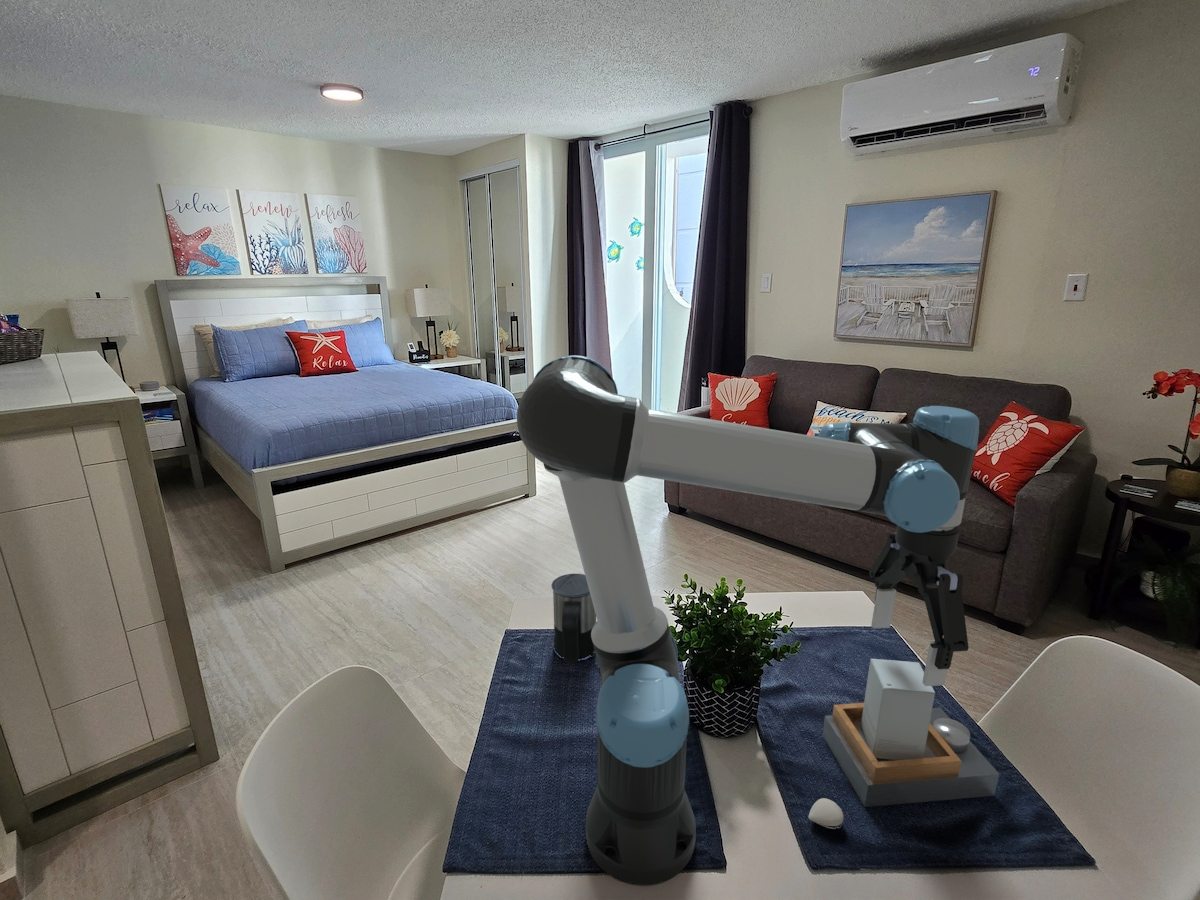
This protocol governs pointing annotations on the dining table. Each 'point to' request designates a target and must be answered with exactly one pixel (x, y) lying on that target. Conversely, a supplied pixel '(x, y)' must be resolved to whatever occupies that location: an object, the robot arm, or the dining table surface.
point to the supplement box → (896, 710)
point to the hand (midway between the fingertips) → (905, 653)
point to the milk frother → (573, 617)
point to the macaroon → (826, 813)
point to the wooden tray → (910, 762)
